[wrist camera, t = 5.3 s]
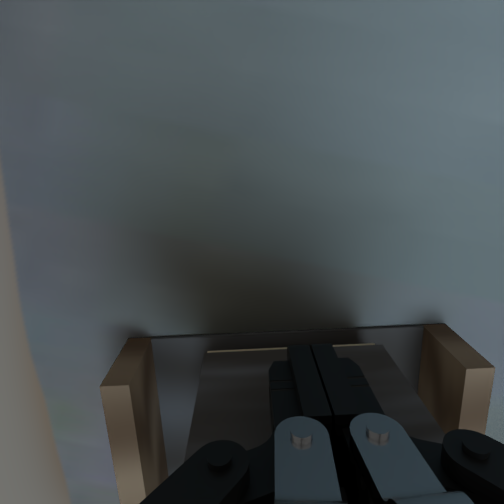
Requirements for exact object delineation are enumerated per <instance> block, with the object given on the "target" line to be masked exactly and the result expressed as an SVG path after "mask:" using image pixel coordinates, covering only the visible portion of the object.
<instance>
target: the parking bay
mask: <svg viewBox="0 0 504 504" xmlns="http://www.w3.org/2000/svg"><path fill="white" fill-rule="evenodd" d="M367 343H375V345H383V346H384V348H385V349H386V350H387V352H388V353H389V355H390V356H391V358H392V359H393V360H394V362H395V363H396V365H397V366H398V368H399V369H400V370H401V372H402V373H403V375H404V376H405V378H406V379H407V380H408V382H409V383H410V385H411V386H412V388H413V389H414V390H415V392H416V393H417V395H418V396H419V397H420V399H421V400H422V402H423V403H424V405H425V406H426V407H427V409H428V410H429V412H430V413H431V415H432V416H433V417H434V419H435V420H436V422H437V423H438V425H439V426H440V427H441V429H442V430H443V432H444V433H445V434H446V433H448V432H449V431H451V430H455V429H467V430H472V431H476V432H479V433H482V434H484V435H485V429H486V423H487V417H488V410H489V404H490V398H491V391H492V385H493V379H494V372H495V367H494V366H493V365H492V364H491V363H489V362H488V361H487V360H486V359H485V358H484V357H483V356H481V355H480V354H479V353H478V352H477V351H476V350H475V349H473V348H472V347H471V346H470V345H469V344H468V343H467V342H465V341H464V340H463V339H462V338H461V337H460V336H459V335H457V334H456V333H455V332H454V331H453V330H452V329H451V328H449V327H448V326H447V325H446V324H427V325H405V326H384V327H363V328H341V329H320V330H298V331H277V332H255V333H234V334H212V335H191V336H170V337H148V338H129V339H128V340H127V342H126V344H125V345H124V347H123V349H122V350H121V352H120V354H119V355H118V357H117V359H116V360H115V362H114V364H113V365H112V367H111V369H110V370H109V372H108V374H107V375H106V377H105V379H104V380H103V382H102V384H101V385H100V391H101V397H102V403H103V408H104V414H105V420H106V425H107V431H108V437H109V442H110V448H111V454H112V459H113V465H114V471H115V476H116V482H117V488H118V493H119V499H120V504H139V503H140V502H141V501H143V500H144V499H145V498H146V497H147V496H148V495H149V494H150V493H151V492H152V491H154V490H155V489H156V488H157V487H158V486H159V485H160V484H161V483H162V482H163V481H164V480H166V479H167V478H168V477H169V476H170V475H171V474H172V473H173V472H174V471H175V470H177V469H178V468H179V467H180V466H181V465H182V464H183V463H184V459H185V453H186V448H187V443H188V438H189V432H190V427H191V422H192V417H193V411H194V406H195V401H196V396H197V390H198V385H199V380H200V375H201V369H202V364H203V359H204V354H205V353H207V351H218V350H239V349H260V348H282V347H287V346H290V345H309V346H310V344H332V345H345V344H367Z"/></svg>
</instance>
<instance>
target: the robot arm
mask: <svg viewBox="0 0 504 504" xmlns="http://www.w3.org/2000/svg"><path fill="white" fill-rule="evenodd" d="M268 373H269V404H270V417H271V427H272V435H271V437H270V438H269V439H268V440H267V441H266V442H265V443H263V444H262V445H260V446H258V447H256V448H253V449H250V450H247V451H246V450H245V448H243V447H242V446H241V445H240V444H238V443H236V442H234V441H230V440H217V441H213V442H210V443H207V444H206V445H204V446H202V447H201V448H200V449H199V450H197V451H196V452H195V453H194V454H193V455H192V456H191V457H190V458H189V459H188V460H186V461H185V462H184V463H183V464H182V465H181V466H180V467H179V468H178V469H177V470H175V471H174V472H173V473H172V474H171V475H170V476H169V477H168V478H167V479H166V480H164V481H163V482H162V483H161V484H160V485H159V486H158V487H157V488H156V489H155V490H154V491H152V492H151V493H150V494H149V495H148V496H147V497H146V498H145V499H144V500H143V501H141V502H140V503H139V504H504V444H502V443H500V442H498V441H496V440H494V439H492V438H490V437H488V436H486V435H484V434H482V433H479V432H476V431H472V430H467V429H455V430H451V431H449V432H448V433H446V434H445V436H444V438H443V443H442V444H441V443H436V442H431V441H426V440H421V439H417V438H414V437H411V436H408V434H407V433H406V431H405V430H404V428H403V427H402V426H401V425H400V424H399V423H398V422H397V421H395V420H394V419H392V418H390V417H388V416H386V415H385V414H384V412H383V410H382V408H381V406H380V404H379V402H378V400H377V398H376V397H375V395H374V393H373V391H372V389H371V387H369V383H368V382H367V380H366V378H365V376H364V374H363V372H362V370H361V368H360V366H359V365H357V364H356V363H355V362H354V361H352V360H351V359H350V358H349V357H348V358H338V357H337V354H336V352H335V350H334V348H333V345H332V344H310V346H309V345H290V346H287V360H286V361H273V363H272V365H271V367H270V368H269V370H268ZM339 487H344V488H345V491H346V494H347V502H346V501H342V499H341V494H340V489H339Z"/></svg>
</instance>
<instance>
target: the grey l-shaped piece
mask: <svg viewBox="0 0 504 504" xmlns="http://www.w3.org/2000/svg"><path fill="white" fill-rule="evenodd" d="M333 348H334V350H335V352H336V354H337V357H338V358H348V357H349V358H350V359H351V360H352V361H354V362H355V363H356V364H357V365H359V366H360V368H361V370H362V372H363V374H364V376H365V378H366V380H367V382H368V383H369V387H371V389H372V391H373V393H374V395H375V397H376V398H377V400H378V402H379V404H380V406H381V408H382V410H383V412H384V414H385V415H386V416H388V417H390V418H392V419H394V420H395V421H397V422H398V423H399V424H400V425H401V426H402V427H403V428H404V430H405V431H406V433H407V434H408V436H411V437H414V438H417V439H421V440H426V441H431V442H436V443H441V444H442V443H443V438H444V436H445V433H444V432H443V430H442V429H441V427H440V426H439V425H438V423H437V422H436V420H435V419H434V417H433V416H432V415H431V413H430V412H429V410H428V409H427V407H426V406H425V405H424V403H423V402H422V400H421V399H420V397H419V396H418V395H417V393H416V392H415V390H414V389H413V388H412V386H411V385H410V383H409V382H408V380H407V379H406V378H405V376H404V375H403V373H402V372H401V370H400V369H399V368H398V366H397V365H396V363H395V362H394V360H393V359H392V358H391V356H390V355H389V353H388V352H387V350H386V349H385V348H384V346H383V345H375V343H367V344H345V345H333ZM286 360H287V347H282V348H260V349H239V350H218V351H207V353H205V354H204V359H203V364H202V369H201V375H200V380H199V385H198V390H197V396H196V401H195V406H194V411H193V417H192V422H191V427H190V432H189V438H188V443H187V448H186V453H185V459H184V462H185V461H186V460H188V459H189V458H190V457H191V456H192V455H193V454H194V453H195V452H196V451H197V450H199V449H200V448H201V447H202V446H204V445H206V444H207V443H210V442H213V441H217V440H230V441H234V442H236V443H238V444H240V445H241V446H242V447H243V448H245V450H246V451H247V450H250V449H253V448H256V447H258V446H260V445H262V444H263V443H265V442H266V441H267V440H268V439H269V438H270V437H271V435H272V427H271V417H270V404H269V373H268V370H269V368H270V367H271V365H272V363H273V361H286ZM339 489H340V494H341V499H342V501H346V502H347V494H346V491H345V488H344V487H339Z"/></svg>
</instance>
